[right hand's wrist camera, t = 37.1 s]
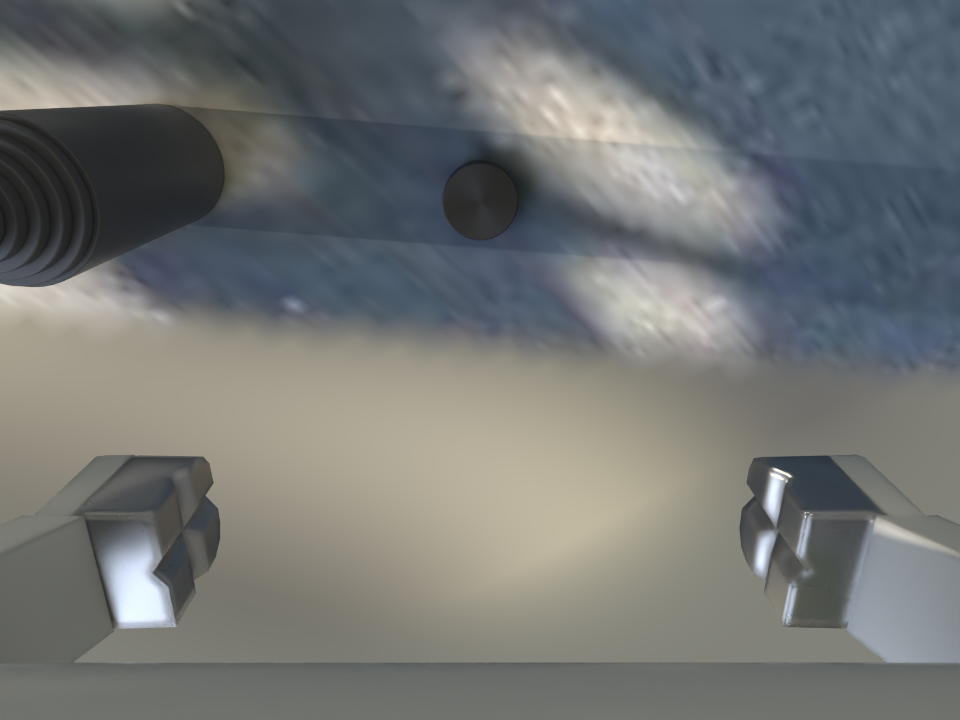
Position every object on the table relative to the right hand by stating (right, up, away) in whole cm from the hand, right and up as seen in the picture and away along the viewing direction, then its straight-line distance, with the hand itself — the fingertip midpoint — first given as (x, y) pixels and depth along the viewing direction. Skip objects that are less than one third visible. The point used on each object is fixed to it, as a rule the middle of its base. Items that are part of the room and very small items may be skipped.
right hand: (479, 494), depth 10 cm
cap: (0, +10, +26) cm, 28 cm away
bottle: (-17, +13, +26) cm, 34 cm away
